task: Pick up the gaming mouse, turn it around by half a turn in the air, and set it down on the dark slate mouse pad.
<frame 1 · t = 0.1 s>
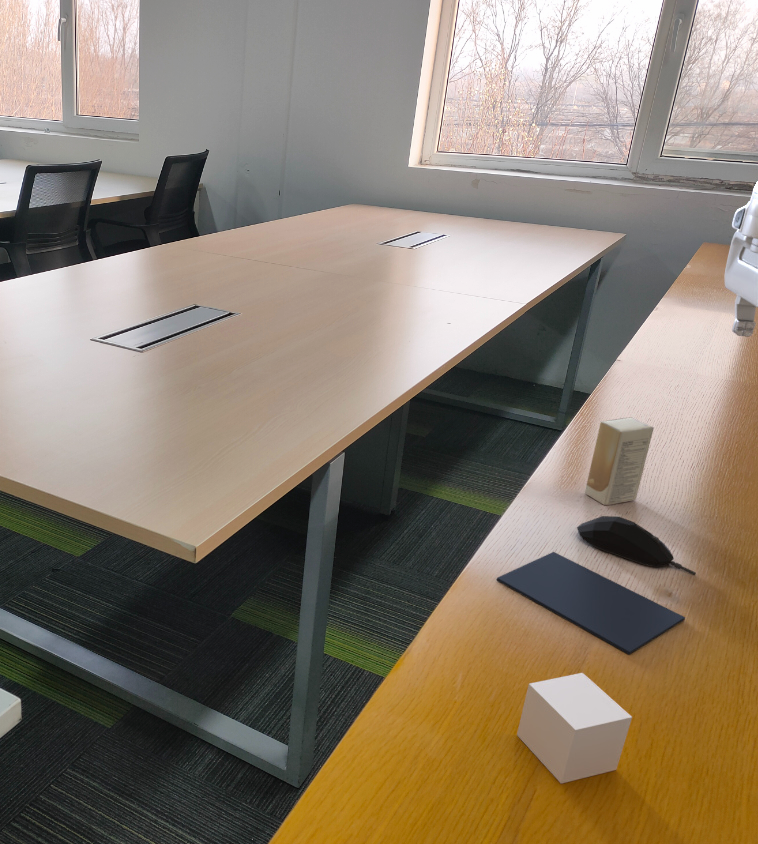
hand: (755, 345, 92), 30 cm above the table, tool pointing down, fingers open, 8 cm apart
mouse pad: (587, 599, 96), on the table
white cube: (564, 753, 73), on the table
cosmetic box: (608, 498, 123), on the table
gaming mouse: (633, 553, 107), on the table
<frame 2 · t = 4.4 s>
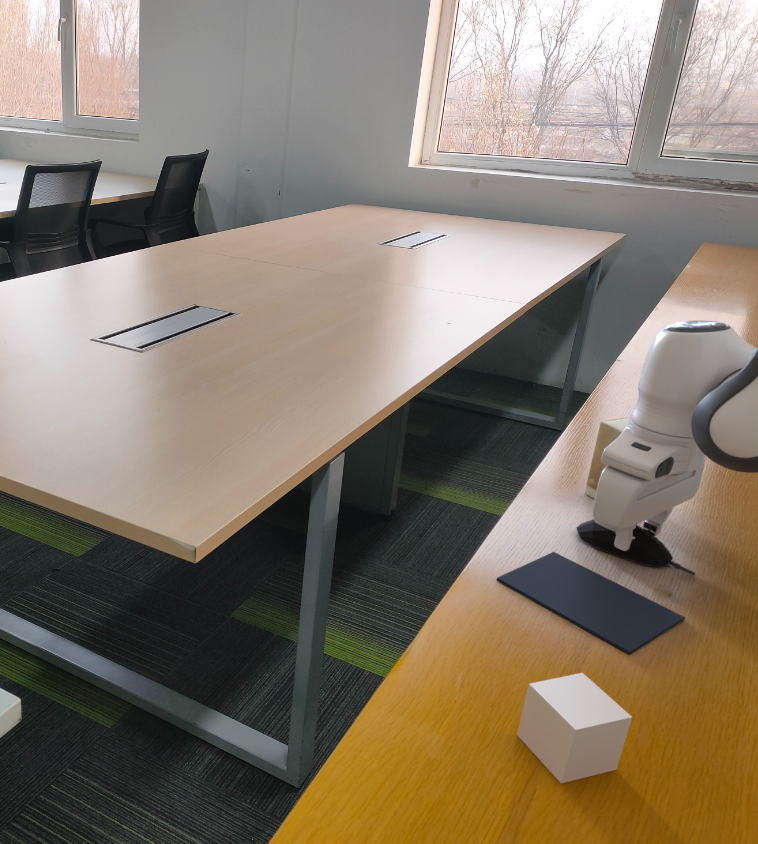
hand: (636, 540, 107), 2 cm above the table, tool pointing down, fingers closed on gaming mouse, 5 cm apart
gaming mouse: (632, 554, 107), on the table, touching gripper
everything else where it was.
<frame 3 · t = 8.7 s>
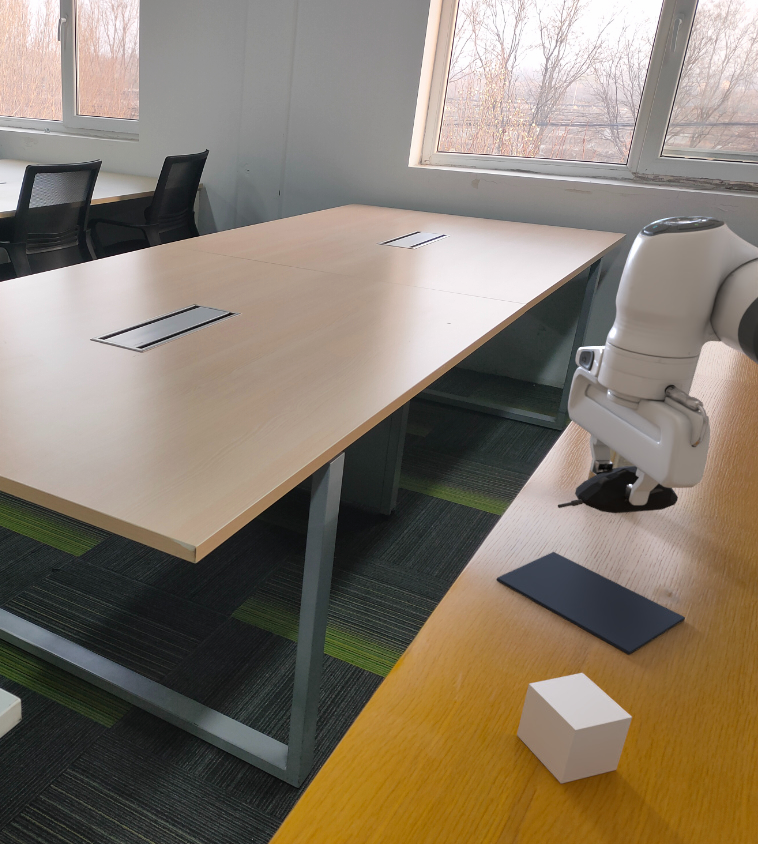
hand: (616, 487, 91), 15 cm above the table, tool pointing down, fingers closed on gaming mouse, 5 cm apart
gaming mouse: (613, 503, 92), point 13 cm above the table, touching gripper
everything else where it was.
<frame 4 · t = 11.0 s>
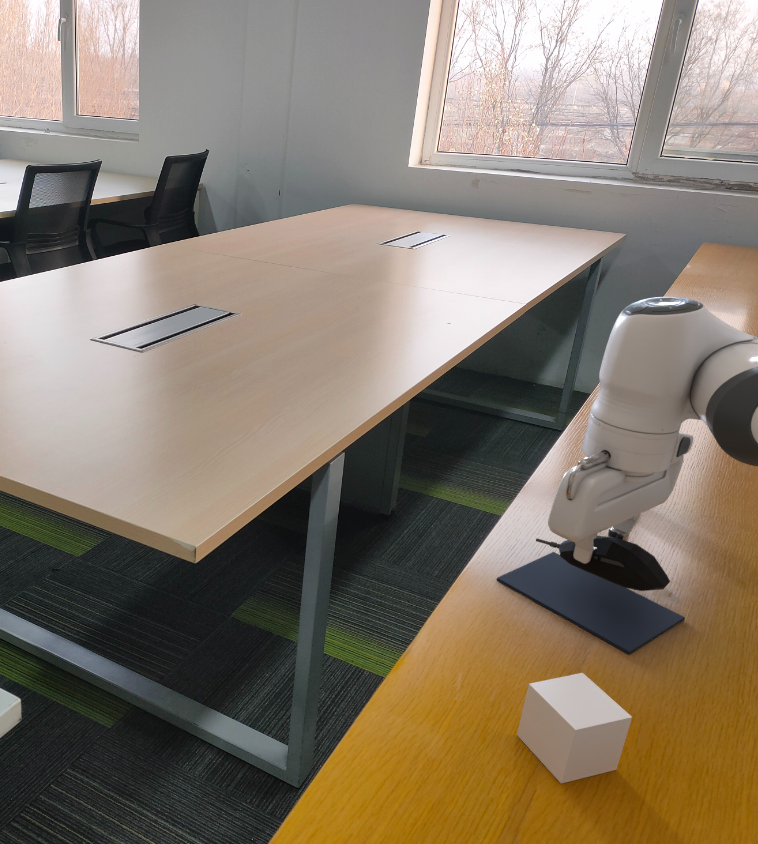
hand: (600, 551, 94), 7 cm above the table, tool pointing down, fingers closed on gaming mouse, 5 cm apart
gaming mouse: (597, 566, 94), point 5 cm above the table, touching gripper
everything else where it was.
when the fingers open (2 cm above the table, at t = 12.8 s): gaming mouse stays where it is, resting on mouse pad.
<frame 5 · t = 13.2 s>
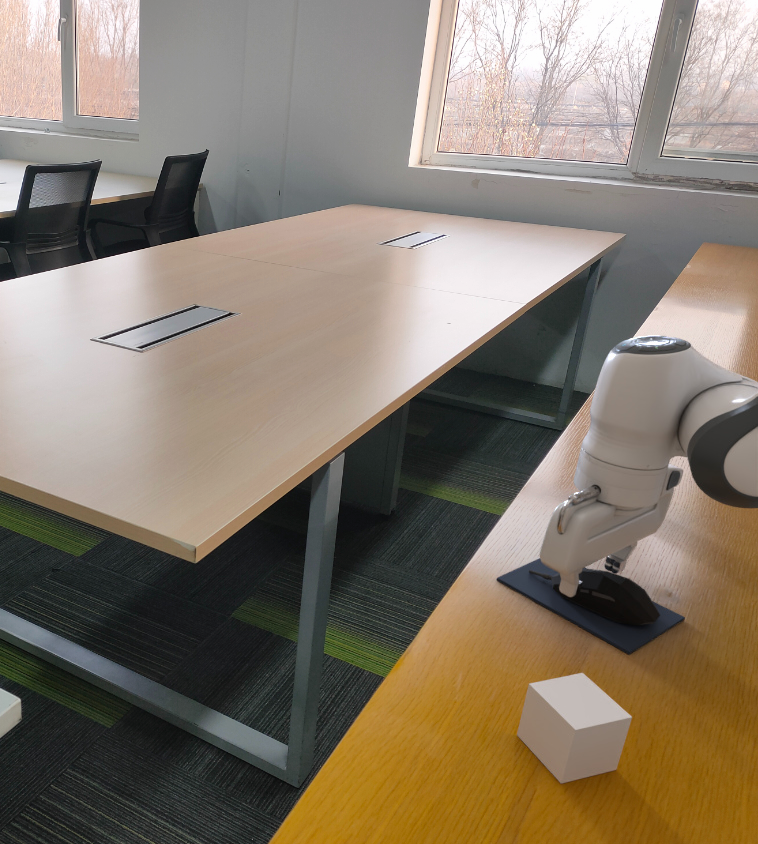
hand: (591, 581, 96), 3 cm above the table, tool pointing down, fingers open, 8 cm apart
gaming mouse: (588, 599, 96), resting on mouse pad
everything else where it was.
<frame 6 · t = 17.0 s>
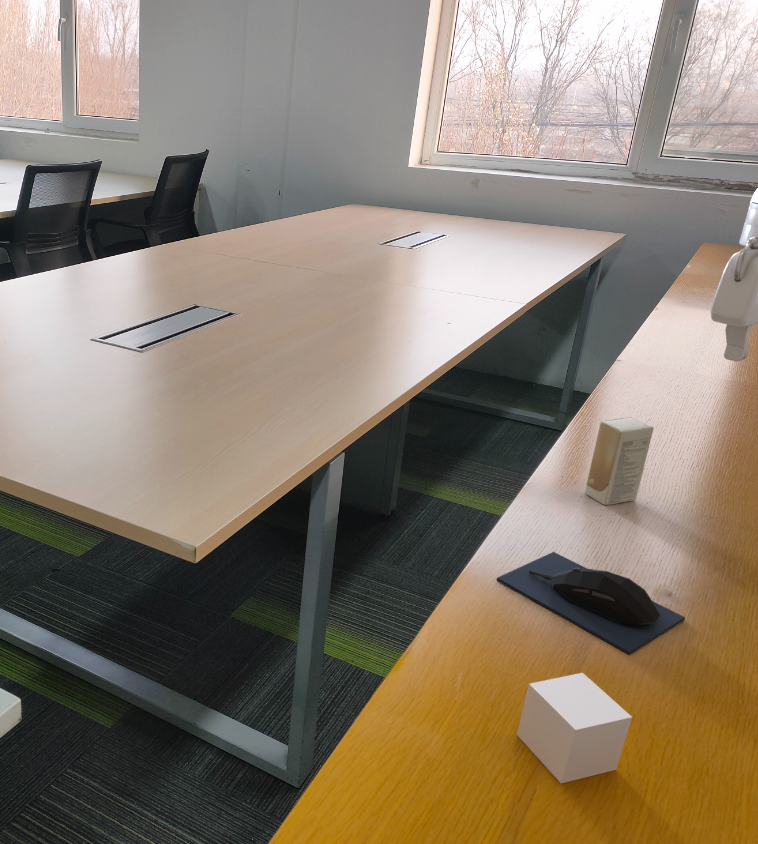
hand: (753, 354, 93), 29 cm above the table, tool pointing down, fingers open, 8 cm apart
nothing on the table moved.
at the end: gaming mouse inside the target area on the mouse pad (0.2 cm from its centre), point 0.2 cm above the mouse pad's base; gaming mouse tilted 0°; the gripper is holding nothing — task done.
